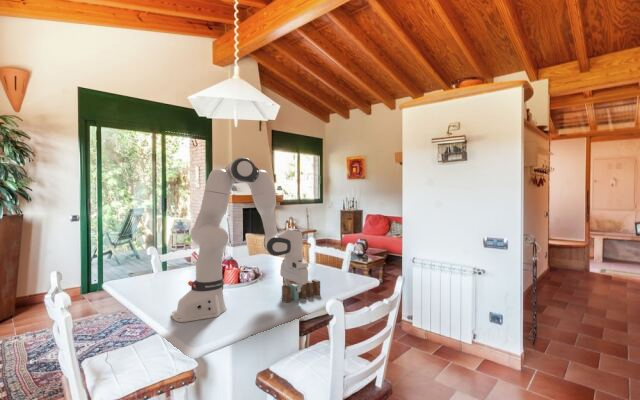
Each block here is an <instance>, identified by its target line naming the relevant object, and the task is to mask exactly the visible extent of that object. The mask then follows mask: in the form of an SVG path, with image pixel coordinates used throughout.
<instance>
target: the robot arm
mask: <svg viewBox="0 0 640 400" xmlns="http://www.w3.org/2000/svg"><path fill="white" fill-rule="evenodd" d="M243 183H244V184H247V185H248V186H249V189H250V192H251V197H252V201H253V203H254V205H255V208H256V210H257V212H258V213H259V215H260V218H261V222H262V227H263V230H264V238H263V247H264V249H265V250H266V251H267V252H268V253H269V254H270V255H271V256H275V257H278V256H282V255H284V258H283V259H282V262H281V264H280V273H279V274H280V277H282V278H283V277H284V278H285V282H286V286H289V287H290V282H289V280H291V281H293V282H296V283H297V285H298V286H297V288H296V291H297V292H301V287H302V285H303V284H307V282H308V281H309V269H308V267H309V262H308V261H307V260H306V259H305V258H304V256H303V247H304V239H303V238H304V237H303V233H302V232H301V230H299V229H296V228H292V227H288V228H286V229H285V230H283V231H281V232H280V233H279V232H278V231H279V230H278V228H277V224H276V219H275V210H276V206H277V197H276V196H277V194H276V191H275V186H274V184H273V181H272V178H271V176H270V174H269V173H268V171H266V170H263V169H259V168H258V167H257V165H255V163H254V162H253V161H252V160H251V159H249V158H246V157H238V158H237V159H233V161H231V162H230V163H229V164H228V165H227V166H226V167H225V168H224V169H223V168H215V169H213V170H211V172H210V173H209V175H208V177H207V180H206V182H205V186H204V187H205V188H204V191H203V196H202V200H201V201H202V202H201V205H200V209H199V213H198V214H197V217H196V219H195V222H194V226H192V228H191V230H190V239H191V240H192V241H193V243H194V244H195V245H197V246H198V248H199V251H198V254H197V255H198V256H197V259H196V261H195V280H194V281H192V280H189V281H187V285H188V286H189V287H190V288H191V289H190V290H189V291H187V293H185V294H184V295H183V296H182V297H181V298H179V300H178V303H177V305H176V306H177V307H176V309H174V310H173V311H172V312H171V318H172V320H173V321H175V322H177V323H188V322H193V321H197V320H198V321H200V320H205V319H211V318H217V317H220V315H221V314H222V313H224V312H225V311H227V307H226V303H225V299H224V292H223V291H224V278H223V257H224V254H225V253H224V252H225V249H226V246H227V245H228V242H229V234H228V231H226V229H225V228H223V227H222V226H221V222H222V220H223V218H224V216H225V215H226V213H227V210H228V205H229V200H230V195H231V189H232V186H233V185H234V184H243Z"/></svg>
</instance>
